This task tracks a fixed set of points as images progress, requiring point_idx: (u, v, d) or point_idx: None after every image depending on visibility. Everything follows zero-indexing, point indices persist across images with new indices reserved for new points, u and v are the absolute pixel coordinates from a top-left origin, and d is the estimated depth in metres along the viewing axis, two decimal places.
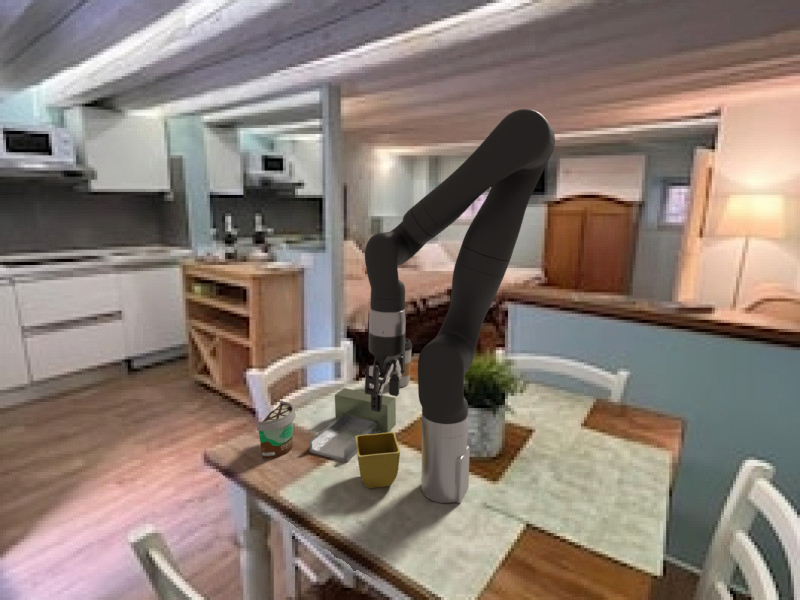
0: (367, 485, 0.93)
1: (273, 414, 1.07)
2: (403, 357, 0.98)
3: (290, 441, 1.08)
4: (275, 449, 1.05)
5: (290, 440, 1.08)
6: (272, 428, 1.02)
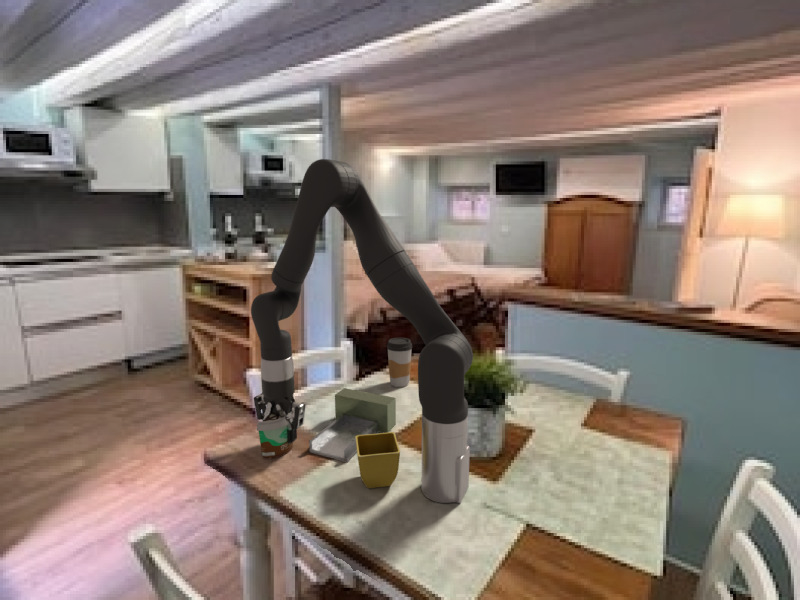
0: (367, 485, 0.93)
1: (273, 414, 1.07)
2: None
3: None
4: (275, 449, 1.05)
5: None
6: (272, 428, 1.02)
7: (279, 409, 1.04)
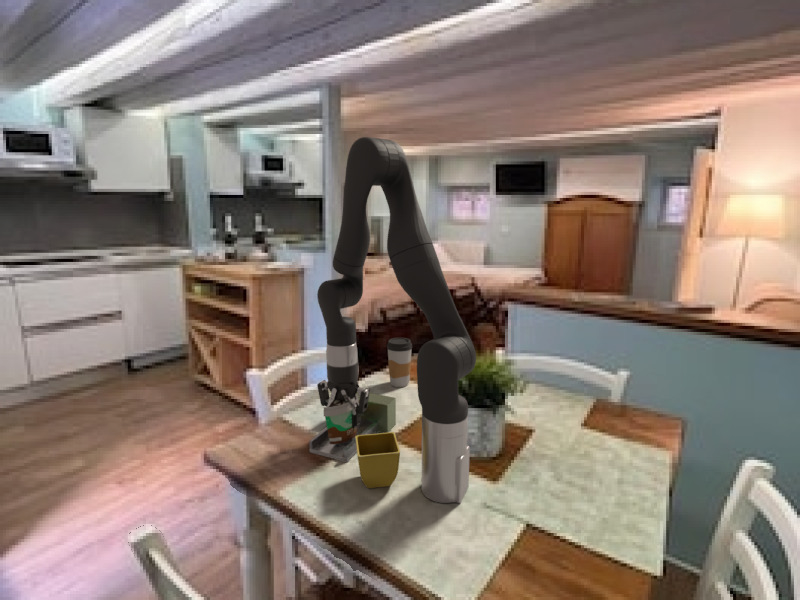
0: (367, 485, 0.93)
1: (336, 400, 1.10)
2: None
3: None
4: (341, 434, 1.07)
5: None
6: (338, 413, 1.05)
7: (344, 394, 1.07)
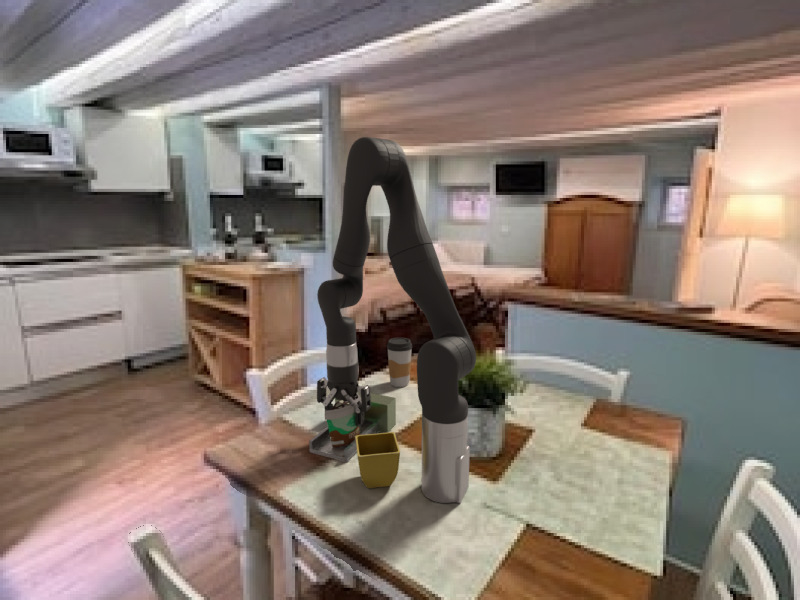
0: (367, 485, 0.93)
1: (338, 404, 1.10)
2: None
3: (357, 429, 1.10)
4: (343, 438, 1.07)
5: (357, 428, 1.10)
6: (339, 416, 1.05)
7: (345, 394, 1.07)
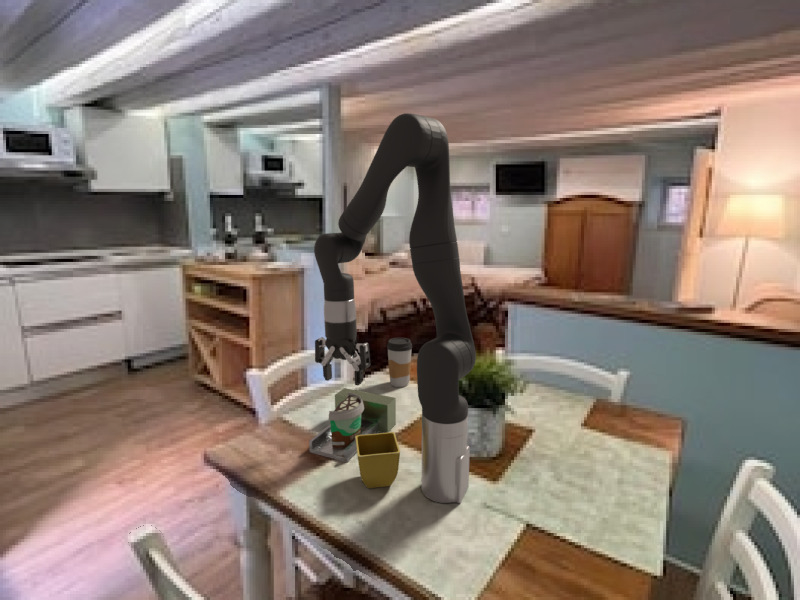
0: (367, 485, 0.93)
1: (342, 404, 1.10)
2: None
3: (358, 432, 1.10)
4: (345, 439, 1.07)
5: (358, 431, 1.10)
6: (343, 418, 1.05)
7: (343, 351, 1.05)
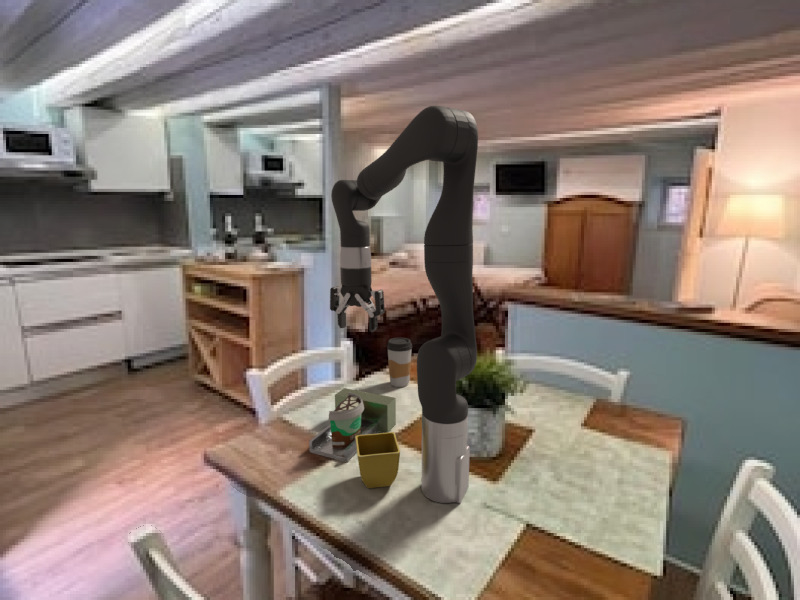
0: (367, 485, 0.93)
1: (342, 404, 1.10)
2: None
3: (358, 432, 1.10)
4: (345, 439, 1.07)
5: (358, 431, 1.10)
6: (343, 418, 1.05)
7: (358, 298, 1.07)
